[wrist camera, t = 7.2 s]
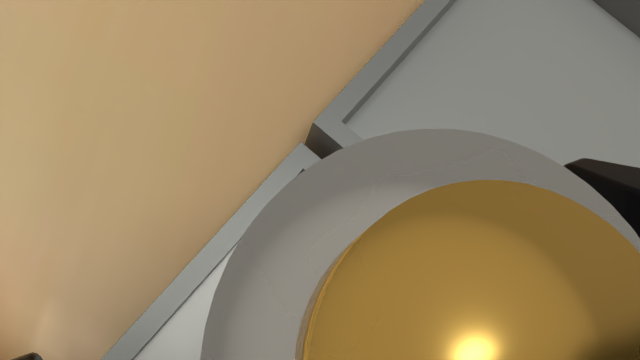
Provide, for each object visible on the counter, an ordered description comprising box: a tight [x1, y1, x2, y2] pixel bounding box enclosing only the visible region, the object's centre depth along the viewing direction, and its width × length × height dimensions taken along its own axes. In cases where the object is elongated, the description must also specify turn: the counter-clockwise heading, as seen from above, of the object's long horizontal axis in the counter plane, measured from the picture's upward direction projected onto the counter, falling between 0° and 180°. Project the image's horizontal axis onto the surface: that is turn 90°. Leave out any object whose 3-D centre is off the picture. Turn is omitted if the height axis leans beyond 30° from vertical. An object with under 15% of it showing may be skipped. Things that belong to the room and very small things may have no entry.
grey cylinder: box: [200, 128, 640, 360], centre depth 10 cm, size 5×5×13 cm
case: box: [305, 0, 640, 168], centre depth 20 cm, size 16×13×2 cm
